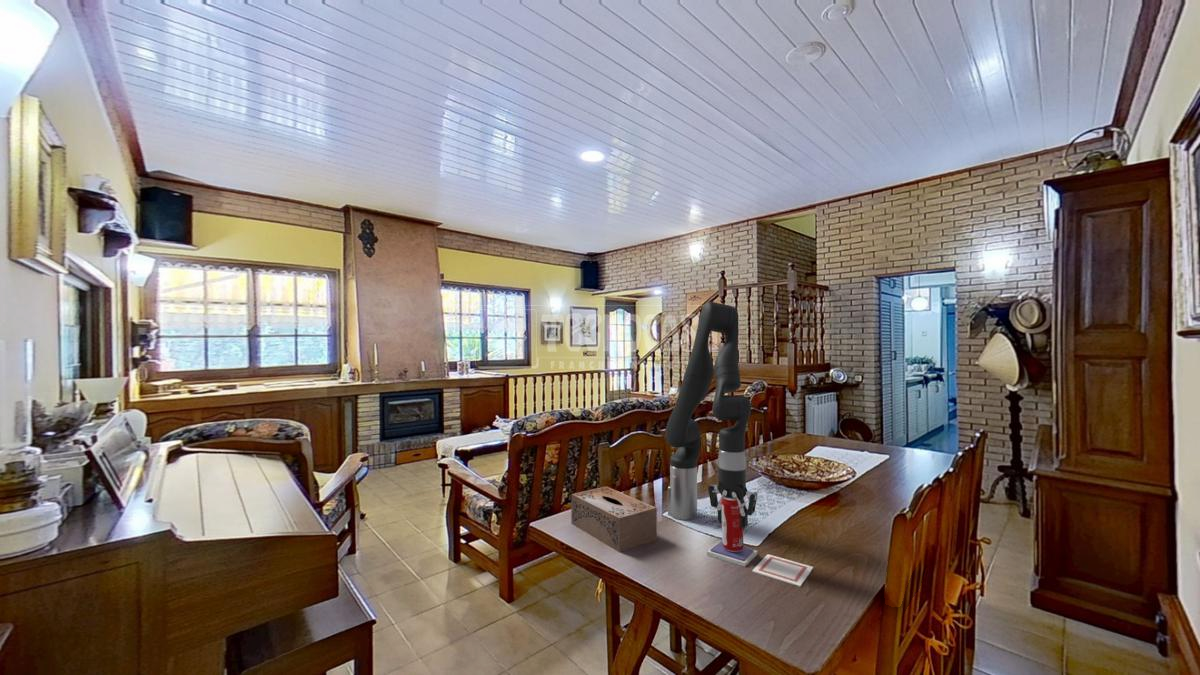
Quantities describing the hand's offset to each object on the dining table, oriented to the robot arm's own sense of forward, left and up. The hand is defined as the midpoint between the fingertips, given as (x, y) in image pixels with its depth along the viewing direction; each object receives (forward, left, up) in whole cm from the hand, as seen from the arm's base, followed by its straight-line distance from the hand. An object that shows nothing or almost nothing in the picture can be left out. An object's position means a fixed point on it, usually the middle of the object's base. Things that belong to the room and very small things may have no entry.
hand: (732, 525), depth 131 cm
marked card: (+14, 0, -8) cm, 16 cm away
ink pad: (0, 0, -8) cm, 8 cm away
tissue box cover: (-37, -8, -9) cm, 38 cm away
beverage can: (0, 0, -7) cm, 7 cm away
